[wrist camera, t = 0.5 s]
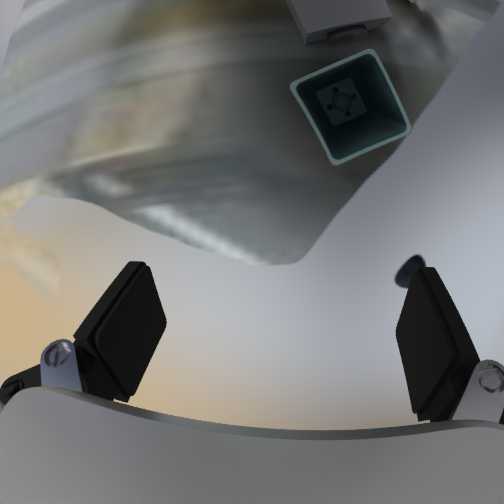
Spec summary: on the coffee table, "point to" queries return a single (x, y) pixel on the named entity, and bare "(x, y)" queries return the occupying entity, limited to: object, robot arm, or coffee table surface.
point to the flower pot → (352, 106)
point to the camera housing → (337, 18)
